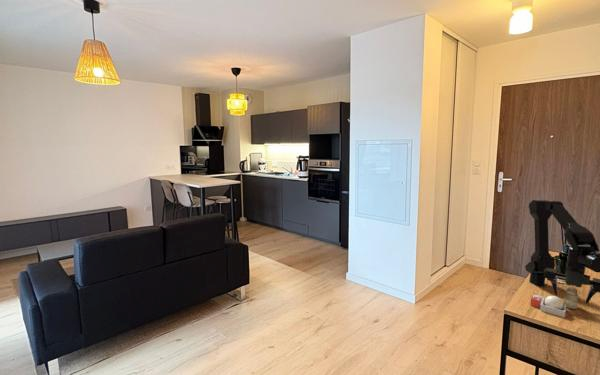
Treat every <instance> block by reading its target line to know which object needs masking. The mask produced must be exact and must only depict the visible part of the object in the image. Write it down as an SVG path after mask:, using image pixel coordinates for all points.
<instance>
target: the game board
mask: <svg viewBox="0 0 600 375" xmlns="http://www.w3.org/2000/svg"><path fill="white" fill-rule="evenodd" d="M533 296H535V297H538V298H541V305H540V308H539V311H540V312H544V313H547V314H551V315H555V316H558V317H561V318H565V317H566V311H567V308H568V309H571V308H570V307H567V306H566V305H567V304H564V302H563V308H562V309H561V310H560V309H556V308H552V307H549V306H546V305H545V299H546V298H547V297H545V296H544V295H543V296H542V295H541V294H540V295H539V294H533ZM572 309H577V308H572Z"/></svg>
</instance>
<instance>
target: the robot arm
mask: <svg viewBox="0 0 600 375" xmlns="http://www.w3.org/2000/svg"><path fill="white" fill-rule="evenodd" d="M528 209H529V214H530V215H531V217H532V219H534V221H533V222H534V252H533V253H532V255H531V256H530V262H528V263H526V264H525V267H524V268H525V271H526V272H528V273H530V274H529V283H530V284H532V285H534V286H536V287H544V286H545V285H546V284H545V283H546V280H547V281H549V282H550V283H551V285H552V287H553V291H554V292H553V293H554V296H556V297H558V296H557V295H558V279H562V280H564V281H565V282H564V283H565V284H566V285H567V286H573V287H576V288H582V287H583V285H584V286H586V285H587V286H589V289H588V293H587V295H586V299H585V304H586V305H588V303H589V302H590V301H591V299H592V298H593V297H594V295H596V294H597V293H600V278H596V277H592V279H591V275H587V274H586V268H587V269H588V270H590V271H593V272H595V273H598V274H599V273H600V249H599V245H598V243H597V241H596V239H595V236H594V233H592V232H591V231H590V230H589V229H588V228H586V227H585V226H583V225H581V224H579V223H578V222H577V221H576V220H575V218H573V216H572V215H571V213H570V212H569V211H568V210H567V209H566V207H565V206H564V204H563V202H562V201H558V200H544V199H539V200H538V199H532V200H531V201H530V202H529V204H528ZM552 215H553V217H554V218H555V219H556V221H557V222H558V224H559V225H560V226H561V227H562V229H563V230H564V231H563V232H564V233H563V236H564V238H565V239H566V241H567V243H565V244H566V245H565V247H567V248H569V249H568V256H567V263H566V270H565V274H562V272H558V270H557V269H555V268H556V263H555V262H556V261H555V260H556V258H555V257H554V256H552V255H551V254H550V250H549V248H550V247H549V243H550V242H549V219H550V218H551V217H552Z"/></svg>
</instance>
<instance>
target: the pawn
mask: <svg viewBox="0 0 600 375" xmlns="http://www.w3.org/2000/svg"><path fill="white" fill-rule="evenodd" d="M563 297H564V298H563V303H564V304H567V305H566V306H567V307H566V308H569V307H570V308H569V309H573V308H576V309H578V301H579V294H578V290H577V289H576V288H575V287H574V286H573V287H572V286H570V287H568V288H566V291H565V292H564V296H563Z"/></svg>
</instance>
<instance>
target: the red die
mask: <svg viewBox="0 0 600 375" xmlns="http://www.w3.org/2000/svg"><path fill="white" fill-rule="evenodd" d="M541 302H542V300H541V298H538V297H535V296H534V295H531V298H530V302H529V304H530V306H531V307H535V308H538V309H540V306H541Z"/></svg>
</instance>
